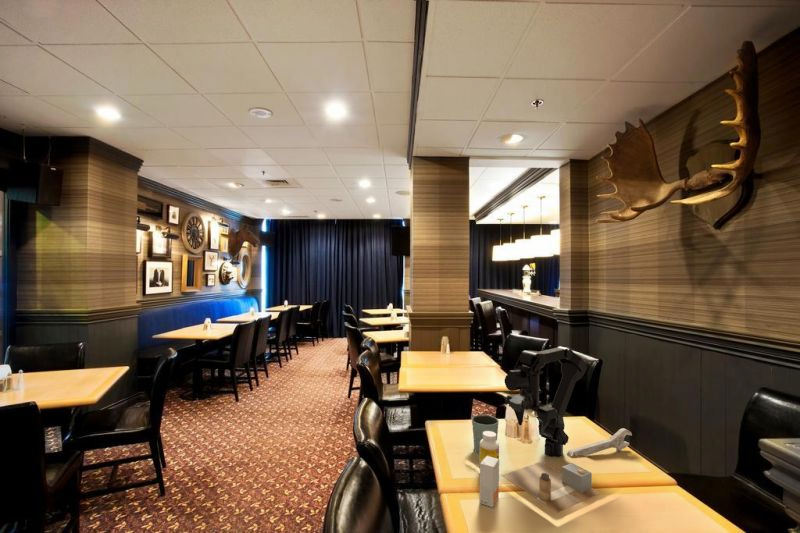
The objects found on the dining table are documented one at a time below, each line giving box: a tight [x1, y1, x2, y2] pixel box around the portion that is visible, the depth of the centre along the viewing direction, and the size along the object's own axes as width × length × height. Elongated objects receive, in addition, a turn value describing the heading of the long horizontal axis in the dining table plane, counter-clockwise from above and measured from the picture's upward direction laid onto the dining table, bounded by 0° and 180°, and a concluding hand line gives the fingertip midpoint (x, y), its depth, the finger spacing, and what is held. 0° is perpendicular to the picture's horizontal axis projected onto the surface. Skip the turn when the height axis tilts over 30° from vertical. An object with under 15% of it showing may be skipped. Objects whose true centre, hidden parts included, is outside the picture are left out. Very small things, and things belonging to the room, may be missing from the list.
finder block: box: [561, 462, 593, 493], centre depth 121 cm, size 5×7×5 cm
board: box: [501, 460, 601, 513], centre depth 122 cm, size 20×22×1 cm
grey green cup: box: [471, 414, 499, 454], centre depth 146 cm, size 10×10×12 cm
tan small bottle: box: [539, 473, 551, 503], centre depth 113 cm, size 3×3×7 cm
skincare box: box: [479, 456, 500, 508], centre depth 114 cm, size 6×4×12 cm
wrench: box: [566, 427, 633, 458], centre depth 145 cm, size 8×2×30 cm
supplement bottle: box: [478, 431, 500, 469], centre depth 131 cm, size 7×7×13 cm
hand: (530, 429), depth 136 cm, fingers open, 9 cm apart
